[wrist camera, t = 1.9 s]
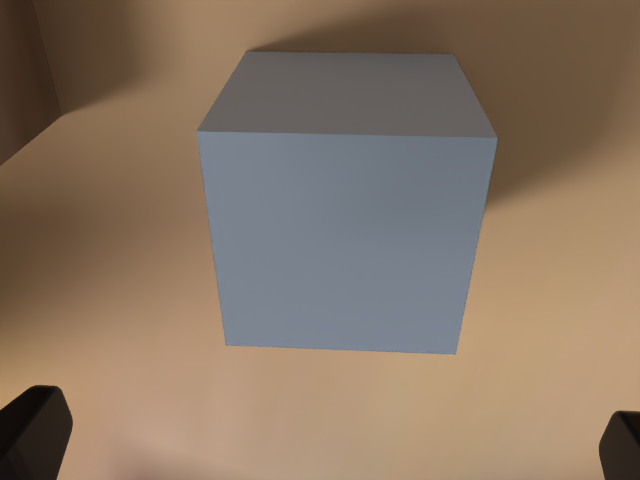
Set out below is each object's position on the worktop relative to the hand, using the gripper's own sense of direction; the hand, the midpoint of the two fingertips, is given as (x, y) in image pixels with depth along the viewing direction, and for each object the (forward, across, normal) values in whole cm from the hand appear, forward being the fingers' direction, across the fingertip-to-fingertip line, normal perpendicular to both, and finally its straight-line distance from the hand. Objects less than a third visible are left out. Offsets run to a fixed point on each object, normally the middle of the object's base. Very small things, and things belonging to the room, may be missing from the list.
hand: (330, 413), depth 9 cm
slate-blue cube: (+10, 0, 0) cm, 10 cm away
